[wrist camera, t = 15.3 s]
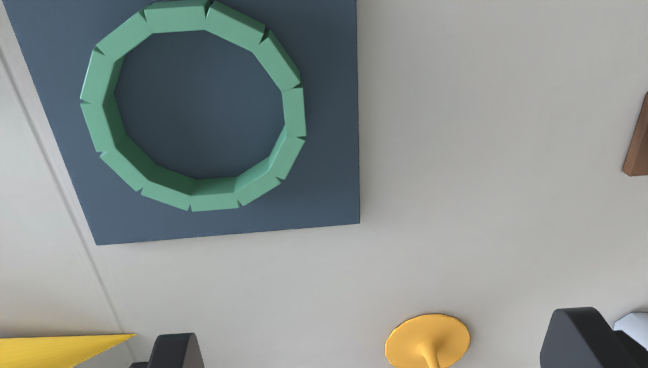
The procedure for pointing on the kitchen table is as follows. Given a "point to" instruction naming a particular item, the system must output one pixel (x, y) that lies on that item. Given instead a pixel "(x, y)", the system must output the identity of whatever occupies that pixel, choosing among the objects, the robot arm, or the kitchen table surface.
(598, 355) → the robot arm
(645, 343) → the white game pawn
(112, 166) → the ring
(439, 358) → the cup
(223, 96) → the mat
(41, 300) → the kitchen table surface
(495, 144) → the kitchen table surface
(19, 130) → the kitchen table surface
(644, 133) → the ring toss
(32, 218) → the kitchen table surface
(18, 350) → the ice cream cone
